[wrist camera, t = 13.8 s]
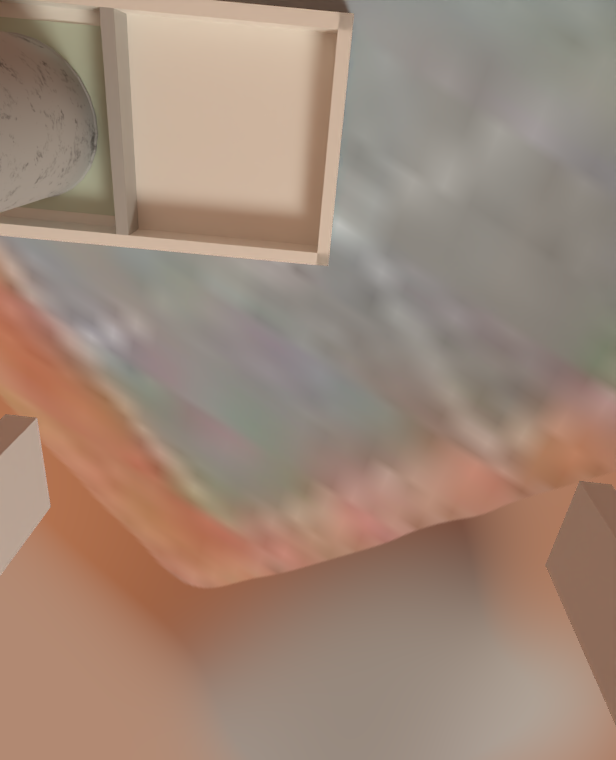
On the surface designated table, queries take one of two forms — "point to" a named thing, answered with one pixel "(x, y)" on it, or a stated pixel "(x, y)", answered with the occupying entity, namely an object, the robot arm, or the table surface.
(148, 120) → the tray
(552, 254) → the table surface
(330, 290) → the table surface
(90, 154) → the white speckled round cylinder
